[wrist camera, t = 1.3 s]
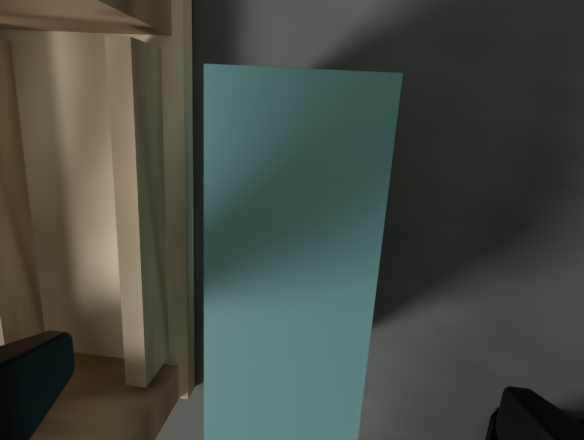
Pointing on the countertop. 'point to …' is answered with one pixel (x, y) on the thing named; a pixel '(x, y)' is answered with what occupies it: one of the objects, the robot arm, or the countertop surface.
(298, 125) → the teal book
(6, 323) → the book rack
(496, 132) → the countertop surface
